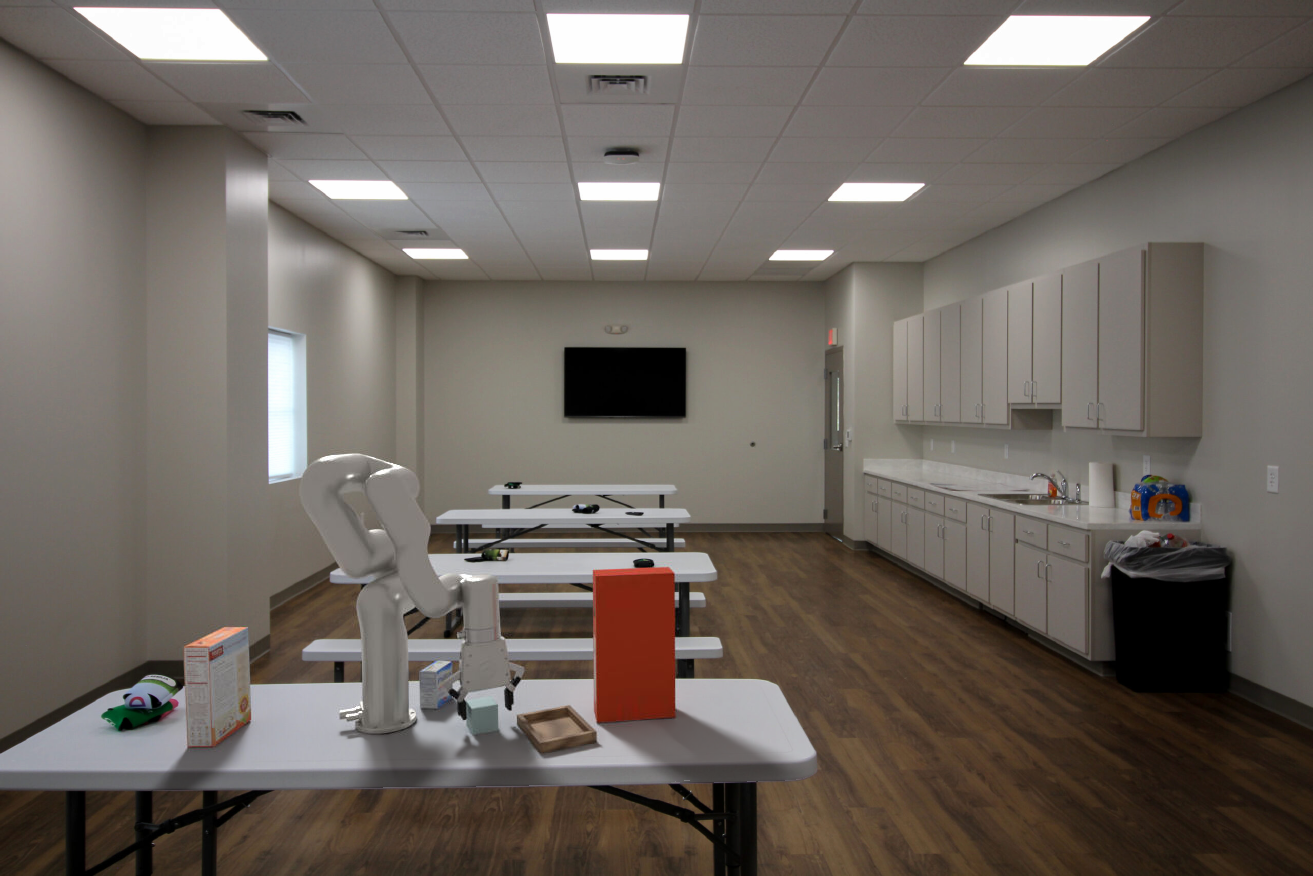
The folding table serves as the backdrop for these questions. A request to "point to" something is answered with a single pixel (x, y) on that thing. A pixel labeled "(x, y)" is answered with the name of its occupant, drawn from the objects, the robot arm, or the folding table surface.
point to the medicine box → (434, 684)
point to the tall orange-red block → (634, 643)
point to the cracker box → (217, 686)
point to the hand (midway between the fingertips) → (486, 713)
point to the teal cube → (482, 715)
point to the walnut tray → (556, 729)
